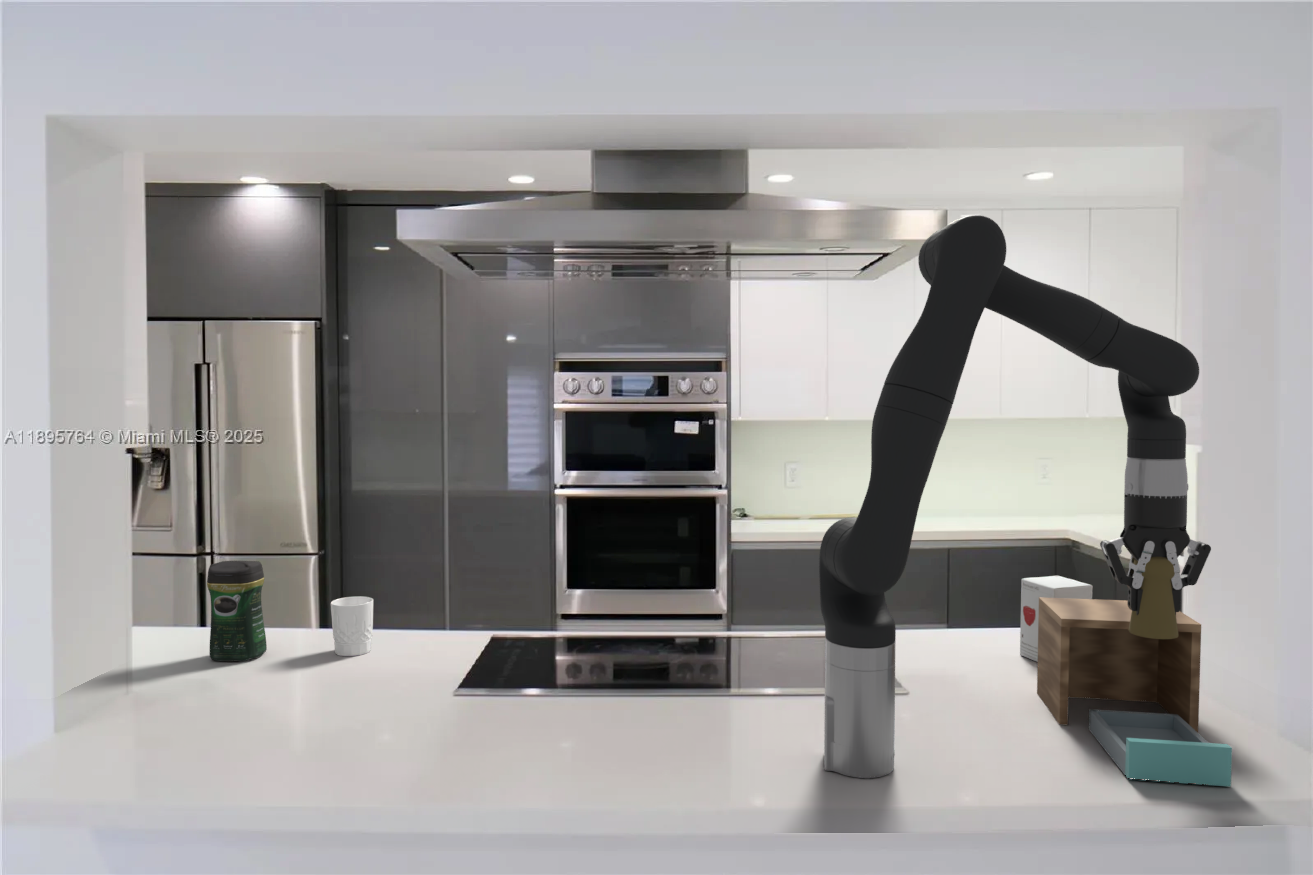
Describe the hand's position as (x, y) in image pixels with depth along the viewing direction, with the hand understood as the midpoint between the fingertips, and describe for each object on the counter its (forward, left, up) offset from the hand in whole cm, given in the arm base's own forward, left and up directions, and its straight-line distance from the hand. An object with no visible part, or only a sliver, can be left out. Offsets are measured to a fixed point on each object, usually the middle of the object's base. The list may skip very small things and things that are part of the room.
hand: (1153, 613), depth 122 cm
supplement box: (-2, +43, -20) cm, 47 cm away
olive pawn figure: (0, 0, -3) cm, 3 cm away
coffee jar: (-155, +18, -20) cm, 157 cm away
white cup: (-135, +25, -20) cm, 139 cm away
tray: (0, -2, -19) cm, 19 cm away
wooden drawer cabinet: (0, +16, -20) cm, 25 cm away
